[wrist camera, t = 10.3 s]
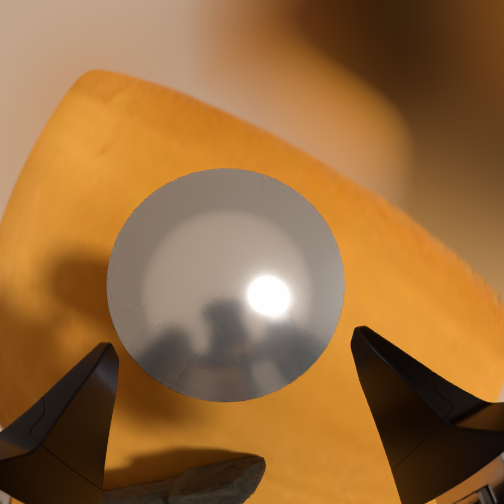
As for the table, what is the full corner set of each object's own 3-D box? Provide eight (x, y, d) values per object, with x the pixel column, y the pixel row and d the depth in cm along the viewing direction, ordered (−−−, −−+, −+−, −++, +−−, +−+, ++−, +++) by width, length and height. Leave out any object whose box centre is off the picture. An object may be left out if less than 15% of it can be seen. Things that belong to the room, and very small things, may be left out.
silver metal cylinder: (242, 373, 17) (252, 446, 5) (179, 327, 18) (68, 296, 5) (286, 310, 18) (381, 250, 6) (225, 267, 19) (205, 136, 7)
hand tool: (80, 520, 12) (58, 542, 7) (56, 486, 13) (29, 504, 8) (278, 480, 15) (289, 513, 10) (253, 440, 16) (259, 469, 11)
